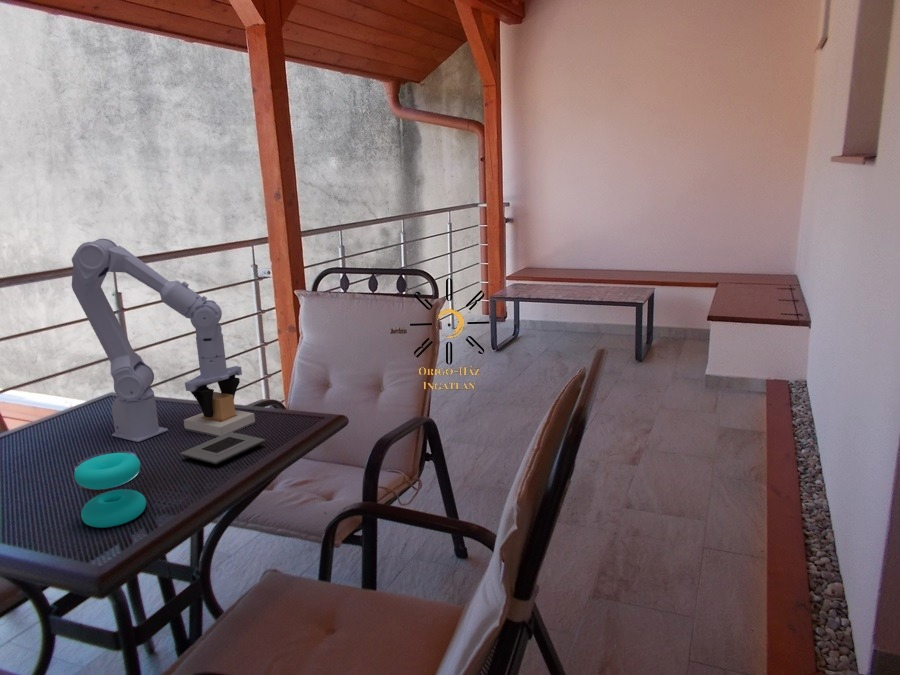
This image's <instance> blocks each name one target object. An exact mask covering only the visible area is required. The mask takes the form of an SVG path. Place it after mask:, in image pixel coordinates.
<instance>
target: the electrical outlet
mask: <svg viewBox="0 0 900 675" xmlns="http://www.w3.org/2000/svg"><path fill="white" fill-rule="evenodd" d="M265 442H266V439H265V438H261V437H256V436H252V435H248V434H243V433H239V432H235V433H234V432H228V433H226V434H224V435H221V436H219V437H214V438H212V439H209V440H207V441H206V442H202V443H201V444H198V445H196V446H194V447H191V448H189V449H186V450H184V451H181V452H180V454H179V455H181V456H182V457H186V458H190V459H193V460H197V461H201V462H205V463H208V464H212V465H217V466H218V465H220V464H221V463H222V464H223V463H224V462H226V461H228V460H230V459H233V458H234V457H236V456H238V455H241V454H242V453H245V452H247V451H249V450H251V449H253V448H254V449H255V448H257V447H258V446H260V445H262V444H264V443H265Z"/></svg>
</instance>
